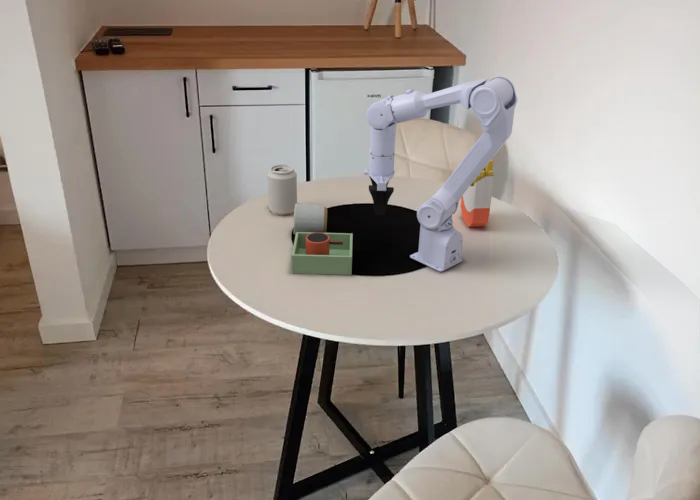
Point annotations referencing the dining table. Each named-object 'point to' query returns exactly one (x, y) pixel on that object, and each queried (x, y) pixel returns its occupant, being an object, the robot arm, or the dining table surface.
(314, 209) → the ceramic mug
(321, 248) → the pot
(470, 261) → the dining table surface
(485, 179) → the french fries container
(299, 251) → the drawer
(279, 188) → the can
